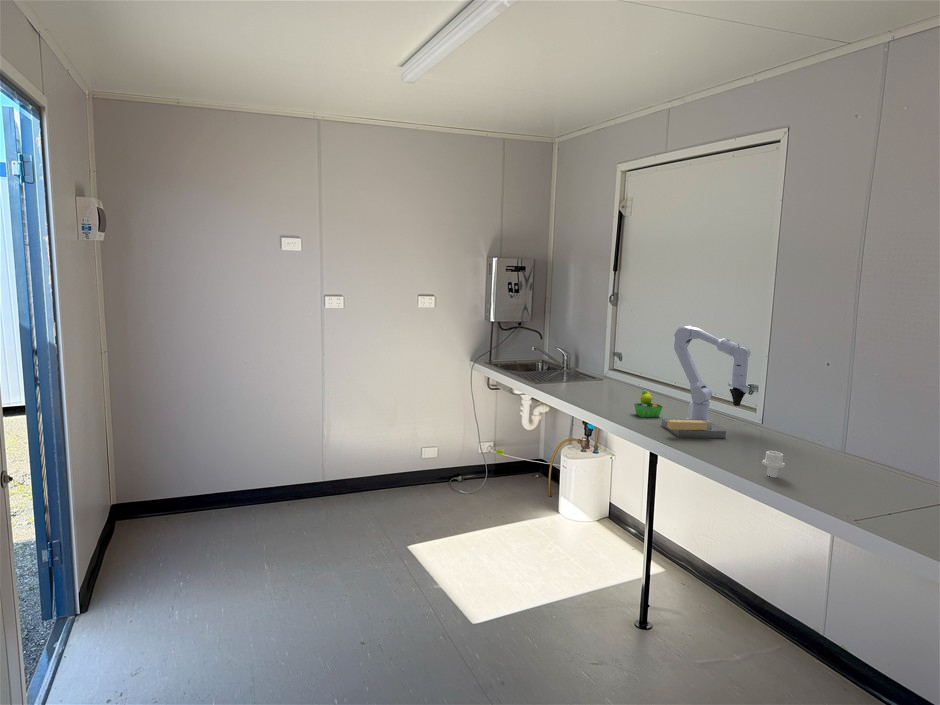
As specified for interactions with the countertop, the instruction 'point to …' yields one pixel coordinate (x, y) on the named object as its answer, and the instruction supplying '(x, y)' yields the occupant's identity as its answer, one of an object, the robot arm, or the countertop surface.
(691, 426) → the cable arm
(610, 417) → the countertop surface
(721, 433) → the plate
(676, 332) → the robot arm
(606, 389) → the countertop surface
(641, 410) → the fruit basket
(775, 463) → the pipe fitting
